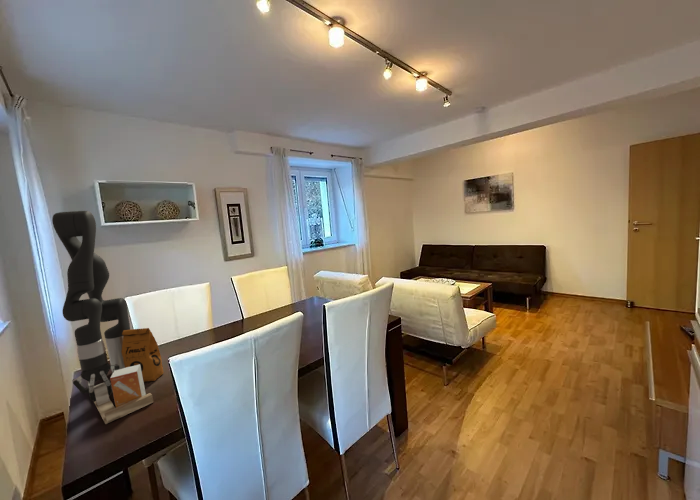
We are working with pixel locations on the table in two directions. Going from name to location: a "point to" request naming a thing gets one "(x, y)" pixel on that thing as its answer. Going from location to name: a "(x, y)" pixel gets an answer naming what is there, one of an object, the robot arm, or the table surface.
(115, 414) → the hooked slat
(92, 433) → the table surface
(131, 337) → the coffee package
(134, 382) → the small box
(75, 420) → the table surface
